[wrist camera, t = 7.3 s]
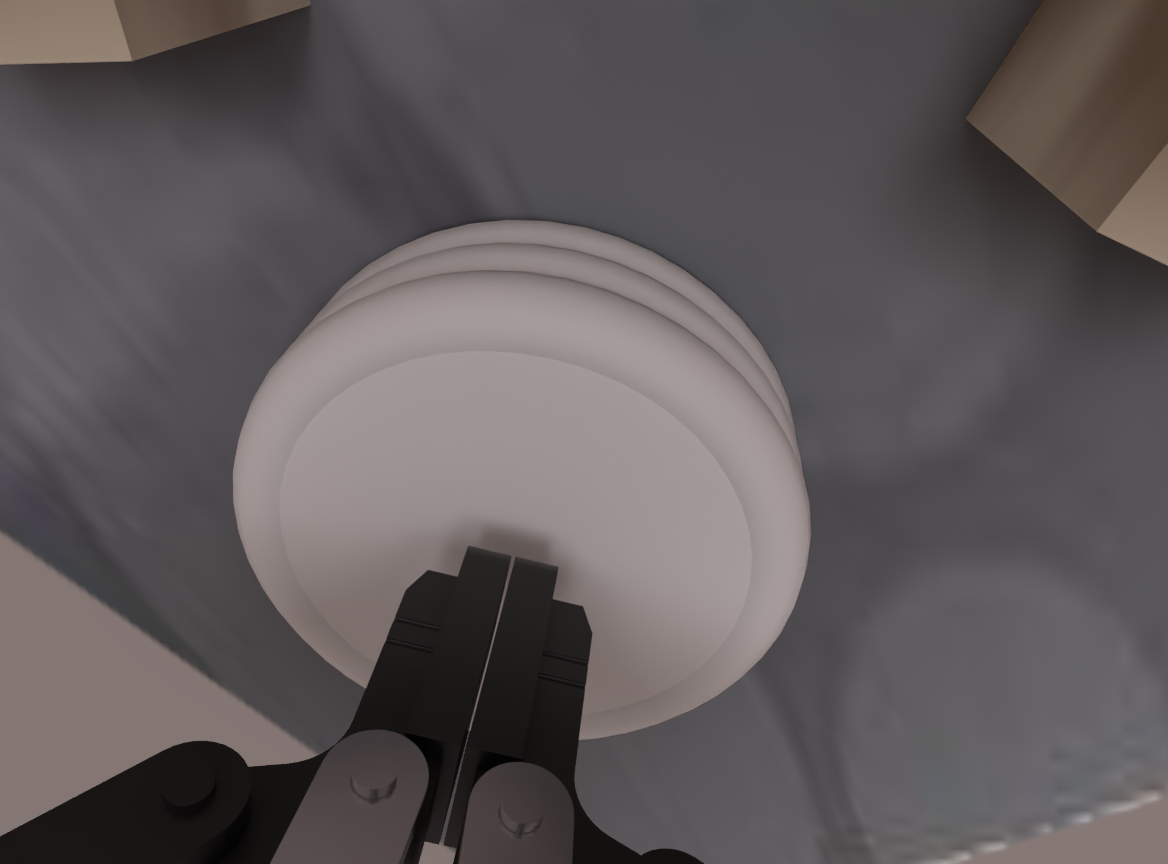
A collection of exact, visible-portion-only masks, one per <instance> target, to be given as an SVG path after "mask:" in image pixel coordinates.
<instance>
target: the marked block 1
mask: <svg viewBox="0 0 1168 864" xmlns="http://www.w3.org/2000/svg"><path fill="white" fill-rule="evenodd" d="M310 5H311V4H310V0H0V65H1V64H41V63H81V62H121V61H135V60H138V59H141V58H144V57H147V56H151V55H154V54H157V53H160V52H163V51H167V50H170V49H173V48H176V47H179V46H182V45H186V44H189V43H192V42H195V41H198V40H202V39H205V38H208V37H211V36H214V35H218V34H221V33H224V32H227V31H230V30H234V29H237V28H240V27H243V26H246V25H249V24H253V23H256V22H259V21H262V20H265V19H269V18H272V17H275V16H278V15H281V14H285V13H288V12H291V11H294V10H297V9H300V8H304V7H307V6H310Z"/></svg>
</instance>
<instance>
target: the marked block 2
mask: <svg viewBox="0 0 1168 864" xmlns="http://www.w3.org/2000/svg"><path fill="white" fill-rule="evenodd" d="M966 120H967V121H968V122H970V123H971V124H972V125H973V126H974V127H975V128H977V129H978V130H979V131H980V132H981V133H982V134H984V135H985V136H986V137H987V138H988V139H989V140H991V141H992V142H993V143H994V144H995V145H996V146H998V147H999V148H1000V149H1001V150H1002V151H1003V152H1005V153H1006V154H1007V155H1008V156H1009V157H1010V158H1012V159H1013V160H1014V161H1015V162H1016V163H1017V164H1019V165H1020V166H1021V167H1022V168H1023V169H1024V170H1025V171H1027V172H1028V173H1029V174H1030V175H1031V176H1032V177H1034V178H1035V179H1036V180H1037V181H1038V182H1039V183H1041V184H1042V185H1043V186H1044V187H1045V188H1046V189H1048V190H1049V191H1050V192H1051V193H1052V194H1053V195H1055V196H1056V197H1057V198H1058V199H1059V200H1060V201H1062V202H1063V203H1064V204H1065V205H1066V206H1067V207H1069V208H1070V209H1071V210H1072V211H1073V212H1074V213H1076V214H1077V215H1078V216H1079V217H1080V218H1081V219H1083V220H1084V221H1085V222H1086V223H1087V224H1088V225H1089V226H1091V227H1092V228H1093V229H1094V230H1095V231H1096V232H1099V233H1101V234H1103V235H1105V236H1107V237H1109V238H1111V239H1113V240H1115V241H1117V242H1119V243H1122V244H1124V245H1126V246H1128V247H1130V248H1132V249H1134V250H1136V251H1138V252H1140V253H1142V254H1144V255H1147V256H1149V257H1151V258H1153V259H1155V260H1157V261H1159V262H1161V263H1163V264H1165V265H1167V266H1168V0H1043V1H1042V3H1041V5H1040V6H1039V8H1038V9H1037V11H1036V12H1035V14H1034V15H1033V17H1032V18H1031V20H1030V21H1029V23H1028V24H1027V26H1026V27H1025V29H1024V30H1023V32H1022V34H1021V35H1020V37H1019V38H1018V40H1017V41H1016V43H1015V44H1014V46H1013V47H1012V49H1011V50H1010V52H1009V53H1008V55H1007V56H1006V58H1005V59H1004V61H1003V63H1002V64H1001V66H1000V67H999V69H998V70H997V72H996V73H995V75H994V76H993V78H992V79H991V81H990V82H989V84H988V85H987V87H986V89H985V90H984V92H983V93H982V95H981V96H980V98H979V99H978V101H977V102H976V104H975V105H974V107H973V108H972V110H971V111H970V113H969V114H968V116H967V118H966Z"/></svg>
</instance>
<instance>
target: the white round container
mask: <svg viewBox="0 0 1168 864" xmlns="http://www.w3.org/2000/svg"><path fill="white" fill-rule="evenodd" d="M233 503H234V509H235V515H236V521H237V526H238V532H239V535H240V538H241V541H242V544H243V547H244V550H245V553H246V555H247V558H248V561H249V563H250V565H251V567H252V569H253V571H254V573H255V575H256V577H257V579H258V581H259V583H260V585H261V587H262V588H263V590H264V591H265V592H266V594H267V595H268V597H269V598H270V600H271V601H272V603H273V604H274V606H275V607H276V609H277V610H278V611H279V613H280V614H281V615H282V616H283V617H284V618H285V620H286V621H287V622H288V623H289V624H290V625H291V626H292V628H293V629H294V630H295V631H296V632H297V633H298V635H299V636H300V637H301V638H302V639H303V640H304V641H305V642H306V643H307V644H309V645H310V646H311V647H312V648H313V649H314V650H315V651H316V652H317V653H318V654H319V655H320V656H321V657H322V658H323V659H325V660H326V661H327V662H328V663H330V664H331V665H332V666H334V667H335V668H336V669H337V670H339V671H340V672H341V673H343V674H344V675H345V676H347V677H348V678H350V679H351V680H353V681H354V682H356V683H358V684H359V685H361V686H362V687H364V688H365V689H366V687H367V685H368V682H369V680H370V677H371V675H372V672H373V670H374V667H375V665H376V662H377V660H378V658H379V655H380V653H381V650H382V648H383V645H384V643H385V642H386V638H387V635H388V633H389V630H390V628H391V625H392V623H393V621H394V619H395V615H396V613H397V610H398V608H399V605H400V603H401V601H402V598H403V596H404V593H405V591H406V589H407V588H408V587H409V586H411V585H412V584H413V583H414V582H415V581H416V580H417V579H418V578H419V577H420V576H422V575H423V574H424V573H425V572H426V571H427V570H431V571H436V572H440V573H444V574H448V575H452V576H457V577H458V574H459V571H460V568H461V565H462V562H463V559H464V556H465V553H466V550H467V548H468V546H473V547H477V548H481V549H485V550H489V551H494V552H498V553H502V554H506V555H510V556H512V557H511V562H510V566H509V571H508V575H507V579H506V584H505V588H504V592H503V597H502V601H501V605H500V610H499V614H498V618H497V623H496V627H495V631H494V635H493V639H492V643H491V647H490V651H489V655H488V659H487V663H486V667H485V670H484V674H483V678H482V682H481V686H480V689H479V693H478V697H477V701H476V705H475V709H474V712H473V716H472V720H471V724H470V728H469V731H470V730H471V726H472V722H473V719H474V715H475V711H476V707H477V703H478V699H479V695H480V692H481V688H482V684H483V680H484V676H485V672H486V668H487V665H488V661H489V657H490V653H491V649H492V645H493V642H494V638H495V634H496V630H497V626H498V622H499V618H500V615H501V611H502V607H503V603H504V599H505V595H506V591H507V588H508V584H509V580H510V576H511V572H512V568H513V565H514V561H515V557H520V558H524V559H528V560H532V561H537V562H541V563H545V564H549V565H553V566H557V567H558V574H557V579H556V584H555V589H554V595H553V599H555V600H559V601H563V602H567V603H572V604H576V605H580V606H583V608H584V611H585V613H586V616H587V619H588V622H589V625H590V628H591V631H592V633H593V634H592V641H591V649H590V657H589V663H588V672H587V680H586V685H585V695H584V703H583V710H582V718H581V726H580V733H579V740H584V739H596V738H602V737H607V736H613V735H618V734H624V733H628V732H632V731H635V730H639V729H642V728H646V727H649V726H652V725H656V724H659V723H661V722H664V721H666V720H668V719H671V718H673V717H676V716H678V715H681V714H683V713H685V712H688V711H690V710H692V709H694V708H696V707H698V706H699V705H701V704H703V703H705V702H707V701H708V700H710V699H712V698H714V697H715V696H717V695H719V694H720V693H721V692H723V691H724V690H725V689H727V688H728V687H729V686H731V685H732V684H733V683H735V682H736V681H737V680H739V679H740V678H741V677H742V676H743V675H744V674H746V673H747V672H748V671H749V670H750V669H751V668H752V667H753V666H754V665H755V664H756V663H757V662H758V661H759V660H760V659H761V658H762V657H763V656H764V654H765V653H766V652H767V651H768V649H769V648H770V647H771V645H772V644H773V643H774V641H775V640H776V639H777V637H778V636H779V635H780V633H781V632H782V630H783V628H784V626H785V624H786V622H787V620H788V618H789V616H790V614H791V612H792V610H793V609H794V606H795V603H796V600H797V597H798V594H799V591H800V588H801V585H802V581H803V578H804V575H805V571H806V567H807V561H808V554H809V546H810V539H811V523H810V503H809V499H808V495H807V490H806V486H805V481H804V477H803V473H802V463H801V458H800V454H799V449H798V445H797V441H796V436H795V427H794V423H793V418H792V414H791V409H790V405H789V401H788V398H787V396H786V393H785V390H784V388H783V385H782V383H781V380H780V378H779V375H778V373H777V371H776V369H775V367H774V366H773V364H772V362H771V360H770V359H769V357H768V355H767V354H766V352H765V350H764V348H763V347H762V345H761V343H760V342H759V341H758V340H757V338H756V337H755V336H754V334H753V333H752V332H751V331H750V329H749V328H748V327H747V326H746V324H745V323H744V322H743V321H742V319H741V318H740V317H739V316H738V315H737V314H736V313H735V312H734V311H733V310H732V309H731V308H730V307H729V306H728V305H727V304H725V303H724V302H723V301H722V300H721V299H720V298H719V297H718V296H717V295H716V294H715V293H714V292H713V291H712V290H711V289H709V288H708V287H707V286H705V285H704V284H703V283H701V282H700V281H699V280H697V279H696V278H694V277H693V276H692V275H690V274H689V273H688V272H686V271H685V270H684V269H682V268H681V267H679V266H677V265H675V264H674V263H672V262H670V261H668V260H667V259H665V258H663V257H662V256H660V255H658V254H656V253H655V252H653V251H651V250H649V249H646V248H644V247H642V246H639V245H637V244H635V243H632V242H630V241H628V240H625V239H623V238H621V237H618V236H614V235H611V234H608V233H604V232H601V231H597V230H594V229H590V228H587V227H583V226H577V225H571V224H564V223H558V222H552V221H538V220H501V221H491V222H480V223H472V224H467V225H463V226H459V227H455V228H450V229H446V230H442V231H438V232H434V233H431V234H428V235H426V236H423V237H421V238H419V239H416V240H414V241H411V242H409V243H406V244H404V245H401V246H399V247H397V248H395V249H394V250H392V251H390V252H389V253H387V254H385V255H384V256H382V257H380V258H379V259H377V260H375V261H373V262H372V263H370V264H368V265H367V266H366V267H365V268H363V269H362V270H361V271H360V272H359V273H357V274H356V275H355V276H354V277H353V278H351V279H350V280H349V281H348V282H346V283H345V284H344V285H343V286H342V287H341V288H340V289H339V290H338V291H337V293H336V294H335V295H334V296H333V297H332V298H331V300H330V301H329V302H328V303H327V304H326V305H325V307H324V308H323V309H322V310H321V311H320V312H319V313H318V314H317V316H316V317H315V318H314V319H313V320H312V321H311V323H310V324H309V325H308V326H307V327H306V328H305V330H304V331H303V332H302V333H301V334H300V335H299V337H298V338H297V339H296V341H295V342H294V343H292V344H291V346H290V347H289V348H288V349H287V350H286V351H285V353H284V354H283V355H282V356H281V357H280V358H279V360H278V361H277V362H276V363H275V364H274V365H273V367H272V368H271V369H270V370H269V372H268V373H267V375H266V377H265V379H264V380H263V382H262V384H261V386H260V387H259V389H258V391H257V392H256V394H255V396H254V398H253V399H252V402H251V405H250V407H249V410H248V413H247V416H246V418H245V421H244V424H243V426H242V429H241V433H240V437H239V441H238V446H237V451H236V457H235V463H234V468H233Z"/></svg>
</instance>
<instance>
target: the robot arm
mask: <svg viewBox="0 0 1168 864" xmlns="http://www.w3.org/2000/svg"><path fill="white" fill-rule="evenodd" d="M511 557H512V556H510V555H506V554H502V553H498V552H494V551H489V550H485V549H481V548H477V547H473V546H468V548H467V550H466V553H465V556H464V559H463V562H462V565H461V568H460V571H459V574H458V577H457V576H452V575H448V574H444V573H440V572H436V571H431V570H427V571H426V572H425V573H424V574H423V575H422V576H420V577H419V578H418V579H417V580H416V581H415V582H414V583H413V584H412V585H411V586H409V587H408V588H407V589H406V591H405V593H404V596H403V598H402V601H401V603H400V605H399V608H398V610H397V613H396V615H395V619H394V621H393V623H392V625H391V628H390V630H389V633H388V635H387V638H386V642H385V643H384V645H383V648H382V650H381V653H380V655H379V658H378V660H377V662H376V665H375V667H374V670H373V672H372V675H371V677H370V680H369V682H368V685H367V687H366V690H365V692H364V695H363V697H362V700H361V702H360V705H359V707H358V710H357V712H356V715H355V717H354V719H353V722H352V724H351V726H350V728H349V729H348V731H347V732H346V733H345V735H344V736H343V737H342V738H341V739H340V740H339V741H338V742H337V743H336V744H335V745H334V746H332V747H331V748H330V749H328V750H327V751H325V752H323V753H322V754H320V755H318V756H315V757H313V758H311V759H308V760H304V761H301V762H296V763H289V764H280V765H279V764H278V765H266V766H254V767H248V766H247V764H246V762H245V760H244V759H243V758H242V757H241V756H240V755H239V754H238V753H237V752H236V751H234V750H233V749H231V748H230V747H227V746H225V745H223V744H219V743H216V742H210V741H192V742H187V743H182V744H179V745H175V746H172V747H171V748H168V749H166V750H164V751H162V752H160V753H158V754H156V755H154V756H152V757H150V758H148V759H146V760H145V761H143V762H141V763H139V764H137V765H135V766H133V767H131V768H129V769H127V770H126V771H124V772H122V773H120V774H118V775H116V776H114V777H112V778H110V779H108V780H107V781H105V782H103V783H101V784H99V785H97V786H95V787H93V788H91V789H90V790H88V791H86V792H84V793H82V794H80V795H78V796H76V797H74V798H72V799H70V800H69V801H67V802H65V803H63V804H61V805H59V806H57V807H55V808H54V809H52V810H50V811H48V812H46V813H44V814H42V815H40V816H38V817H36V818H34V819H33V820H31V821H29V822H27V823H25V824H23V825H21V826H19V827H18V828H15V829H14V830H12V831H10V832H8V833H6V834H4V835H2V836H0V864H418V863H419V860H420V856H421V852H422V849H423V845H424V842H425V841H426V842H430V843H434V844H439V842H440V838H441V835H442V831H443V827H444V823H445V819H446V816H447V812H448V808H449V804H450V800H451V796H452V793H453V789H454V785H455V781H456V777H457V774H458V770H459V766H460V762H461V758H462V754H463V751H464V747H465V743H466V739H467V735H468V731H469V728H470V724H471V720H472V716H473V712H474V709H475V705H476V701H477V697H478V693H479V689H480V686H481V682H482V678H483V674H484V670H485V667H486V663H487V659H488V655H489V651H490V647H491V643H492V639H493V635H494V631H495V627H496V623H497V618H498V614H499V610H500V605H501V601H502V597H503V592H504V588H505V584H506V579H507V575H508V571H509V566H510V562H511ZM557 574H558V567H557V566H553V565H549V564H545V563H541V562H537V561H532V560H528V559H524V558H520V557H515V561H514V565H513V568H512V572H511V576H510V580H509V584H508V588H507V591H506V595H505V599H504V603H503V607H502V611H501V615H500V618H499V622H498V626H497V630H496V634H495V638H494V642H493V645H492V649H491V653H490V657H489V661H488V665H487V668H486V672H485V676H484V680H483V684H482V688H481V692H480V695H479V699H478V703H477V707H476V711H475V715H474V719H473V722H472V726H471V730H470V734H469V738H468V742H467V745H466V750H465V754H464V758H463V763H462V767H461V772H460V776H459V780H458V785H457V789H456V793H455V798H454V802H453V807H452V811H451V815H450V820H449V824H448V828H447V833H446V837H445V842H444V845H445V846H449V847H454V848H457V850H456V854H455V858H454V862H453V864H704V863H702V862H701V861H699V860H698V859H697V858H695V857H693V856H691V855H689V854H688V853H685V852H682V851H679V850H674V849H656V850H652V851H649V852H647V853H644V854H643V855H639V854H638V853H636V852H634V851H633V850H631V849H629V848H628V847H626V846H624V845H623V844H621V843H619V842H618V841H616V840H614V839H613V838H611V837H610V836H608V835H607V834H605V833H604V832H602V831H601V830H600V829H599V828H598V827H597V826H596V825H595V824H594V823H593V822H592V821H591V820H590V819H589V817H588V816H587V815H586V813H585V811H584V810H583V808H582V806H581V804H580V802H579V800H578V797H577V793H576V790H575V782H574V773H575V764H576V757H577V749H578V741H579V733H580V726H581V718H582V710H583V703H584V695H585V685H586V680H587V672H588V663H589V657H590V649H591V641H592V634H593V633H592V631H591V628H590V625H589V622H588V619H587V616H586V613H585V611H584V608H583V606H580V605H576V604H572V603H567V602H563V601H559V600H555V599H553V595H554V589H555V584H556V579H557Z"/></svg>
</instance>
